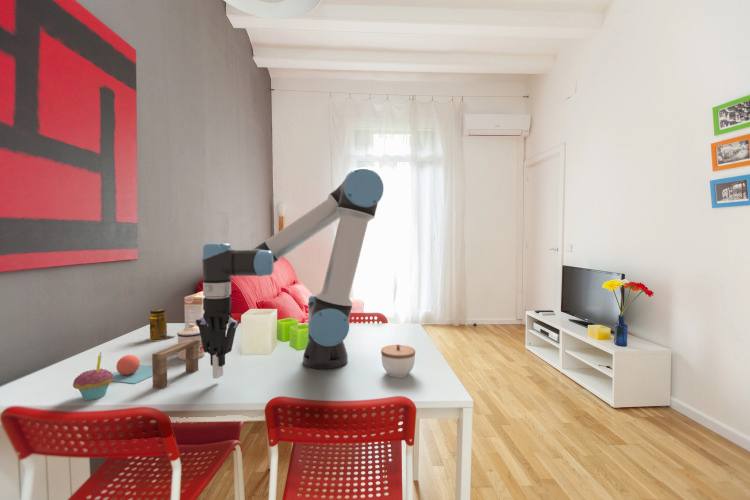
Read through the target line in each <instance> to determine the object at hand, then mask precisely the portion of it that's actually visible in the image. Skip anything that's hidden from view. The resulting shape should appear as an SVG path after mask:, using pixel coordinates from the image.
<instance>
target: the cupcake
mask: <svg viewBox="0 0 750 500" xmlns="http://www.w3.org/2000/svg"><path fill="white" fill-rule="evenodd" d="M101 362H102V352H100V353H99V354H98V355H97V363H96V369H92V370H91V369H90V370H86V371H83V372H81V373H80V374H79V375H77V376H76V377H75V378H74V379H73V383H72V387H73V388H74V389H76V390H78V391H79V392H80V395H81V397H82V400H84V401H93V400H94V399H95V400H98V398H99V399H101V398H103V397H105V396H106V394H107V390H108V388H109V386H110V383H113V381H112V379H113V377H114V376H113V373H112V371H109V370H107V369H106V368H104V369H103V368H101ZM95 400H94V401H95Z"/></svg>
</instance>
